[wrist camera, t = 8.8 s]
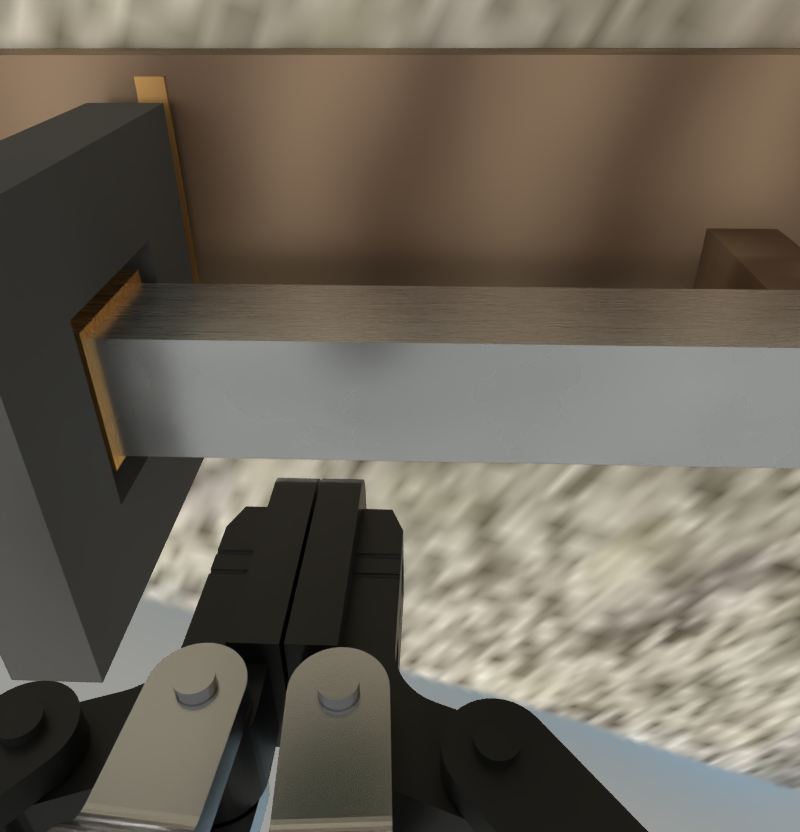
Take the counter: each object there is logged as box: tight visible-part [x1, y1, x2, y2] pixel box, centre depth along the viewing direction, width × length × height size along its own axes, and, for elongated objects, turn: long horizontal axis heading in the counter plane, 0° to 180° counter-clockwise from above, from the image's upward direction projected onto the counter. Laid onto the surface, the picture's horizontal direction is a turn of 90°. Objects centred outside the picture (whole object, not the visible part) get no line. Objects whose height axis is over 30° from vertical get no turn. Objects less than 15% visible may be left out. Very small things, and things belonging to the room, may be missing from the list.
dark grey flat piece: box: [0, 103, 204, 683], centre depth 17 cm, size 2×10×10 cm, turn 0°
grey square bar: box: [70, 269, 800, 471], centre depth 17 cm, size 24×4×4 cm, turn 90°
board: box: [0, 48, 800, 290], centre depth 21 cm, size 26×12×6 cm, turn 90°
